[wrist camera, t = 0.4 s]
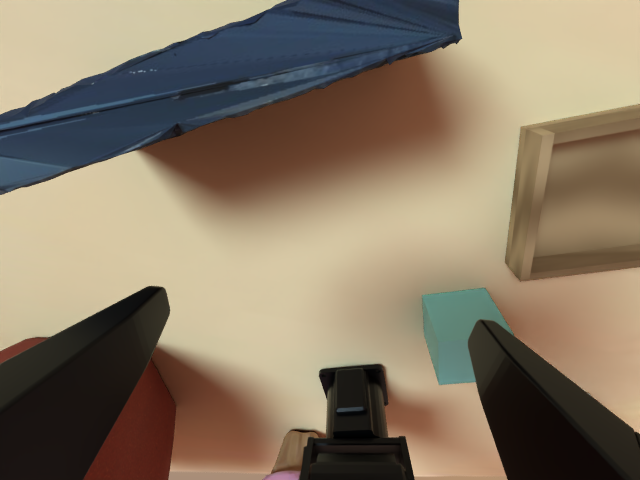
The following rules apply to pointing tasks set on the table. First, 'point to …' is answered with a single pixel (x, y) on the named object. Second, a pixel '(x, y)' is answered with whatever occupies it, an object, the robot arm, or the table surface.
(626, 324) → the table surface
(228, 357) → the table surface
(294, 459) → the cupcake
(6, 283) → the table surface
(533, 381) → the robot arm
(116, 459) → the plant pot
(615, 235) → the tray
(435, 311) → the cube
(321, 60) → the vhs cassette tape
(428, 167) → the table surface
